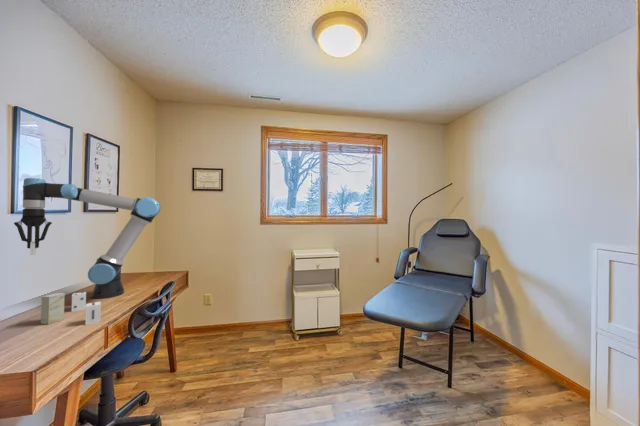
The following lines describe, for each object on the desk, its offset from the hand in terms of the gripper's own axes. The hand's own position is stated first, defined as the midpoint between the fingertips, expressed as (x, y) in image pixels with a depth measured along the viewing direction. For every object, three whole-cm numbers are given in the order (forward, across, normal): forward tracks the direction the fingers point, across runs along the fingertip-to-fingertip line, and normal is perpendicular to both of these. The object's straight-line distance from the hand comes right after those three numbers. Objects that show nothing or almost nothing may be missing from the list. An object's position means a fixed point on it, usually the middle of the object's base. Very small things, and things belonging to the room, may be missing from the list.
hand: (32, 254), depth 127 cm
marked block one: (+29, -24, +38) cm, 53 cm away
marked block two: (+28, -18, +13) cm, 36 cm away
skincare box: (+29, -10, +26) cm, 40 cm away
